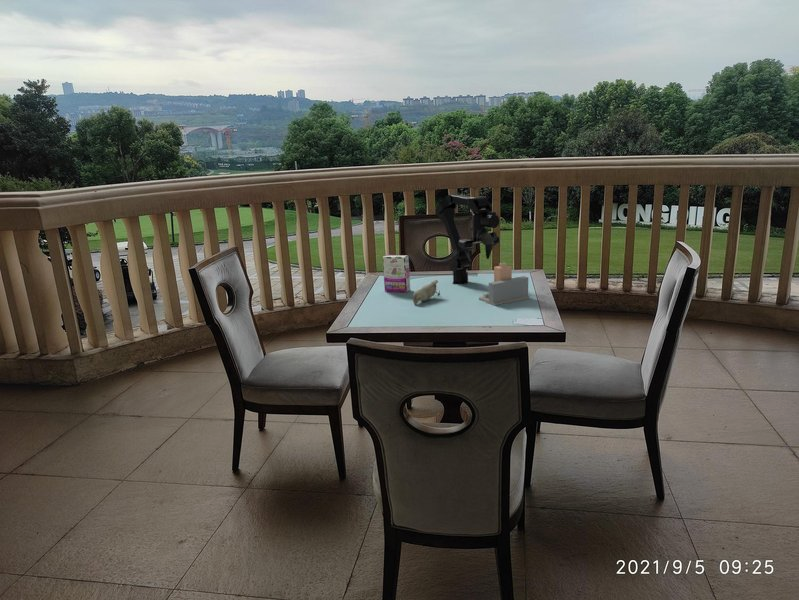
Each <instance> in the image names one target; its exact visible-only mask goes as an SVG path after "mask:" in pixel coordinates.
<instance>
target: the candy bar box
mask: <svg viewBox="0 0 799 600" xmlns="http://www.w3.org/2000/svg"><path fill="white" fill-rule="evenodd" d="M409 261H410V259H409V255H404V254H403V255H399V254H398V255H397V254H385V255H383V256H382V266H383V269H382V270H383V281H384V282H383V283H384V292H389V293H408V292H409V291H410V290H411V277H410V276H411V275H410V262H409Z"/></svg>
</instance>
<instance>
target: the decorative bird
mask: <svg viewBox="0 0 799 600" xmlns="http://www.w3.org/2000/svg"><path fill="white" fill-rule="evenodd" d="M438 283H439V280H438V279H434V280H433V281H431V282H430V283H429V284H426V285H424V286H422V287H420V288H419V289H416V290H415V291H414V293H413V295H412V302H413V304H414V305H415V306H416V305H417V304H418V303H419V302H425V301H429V300H430V299H431V298H432V297H434V295H435V296H436V297H438V298H439V297H440V296H441V292H440V291H441V290H439V291H437V284H438ZM436 294H437V295H436Z"/></svg>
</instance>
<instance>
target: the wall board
mask: <svg viewBox="0 0 799 600" xmlns="http://www.w3.org/2000/svg"><path fill="white" fill-rule="evenodd" d="M479 299H480V300H479ZM527 299H530V295H529V277H528V276H525V275H521V276H518V277H517V276H515V277H513V278H511V279H506V280H501V281H496V282H494V281H493V282H491V281H490V282H488V292H485V293H483V294H482V296H480V297H478V300H479V301H482V302H484V301H485V303H487V304H490V305H493V306H494V305H495V306H498V305H499V304H500V305H503V303H504V304H509V303H514V302H517V301H518V302H519V301H521V300H527ZM508 302H509V303H508Z"/></svg>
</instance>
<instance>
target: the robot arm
mask: <svg viewBox="0 0 799 600" xmlns="http://www.w3.org/2000/svg"><path fill="white" fill-rule="evenodd" d="M458 205H460V206H464V207H467V209H469V210H470V212H469V213H468V215H470V216H472V218H471V219H472V221H471V222H472V223H471V224H472V227H470V231H472V236H470V239H467V238H464V239H461V237H460V233H459V231H458V228H457V224H456V222H455V216H456V209H457V208H458ZM435 214H436V215H437V217H438V219H439V220H440V221H441V222H442V223H443V224H444V227H445V230H446V233H447V236H448V238H449V242H450V245H451V248H452V256H451V258H452V262H450V264H449V270H450V271H451V272H452V276H453V277H452V279H453V281H452V284H454V285H455V284H459V285H461V284H462V285H463V284H464V283H466V284H467V283H468V282H469V272H468V270H471V265H472V262H473V249H474V247H473V246H474V245H477V244H482V245H484V248H485V249H484V250H485V257H486V259H487V260H489V259H490V256H491V253H492V251H493V248H494V247H495V246H497V245H498V244H499V243H500V241H501V238H500V237H499V236H498V234H497V232H496V231H492V232H489V231H488V228H491V229H496V228H497V227H498V226H499V225H500V220H501V219H500V217H499V215H497V212H496V211H493V209H492V207H491V205H490V202H489V201H488V199H487V197H486V196H484V195H483V196H474V197H473V196H472V197H471V196H468V195H462V194H459V193H451V194H447V195H446V196H445V198H444V199H442V200H441V201H440V202H439V203H438V204H437V205H436V207H435ZM464 285H465V284H464Z"/></svg>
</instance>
